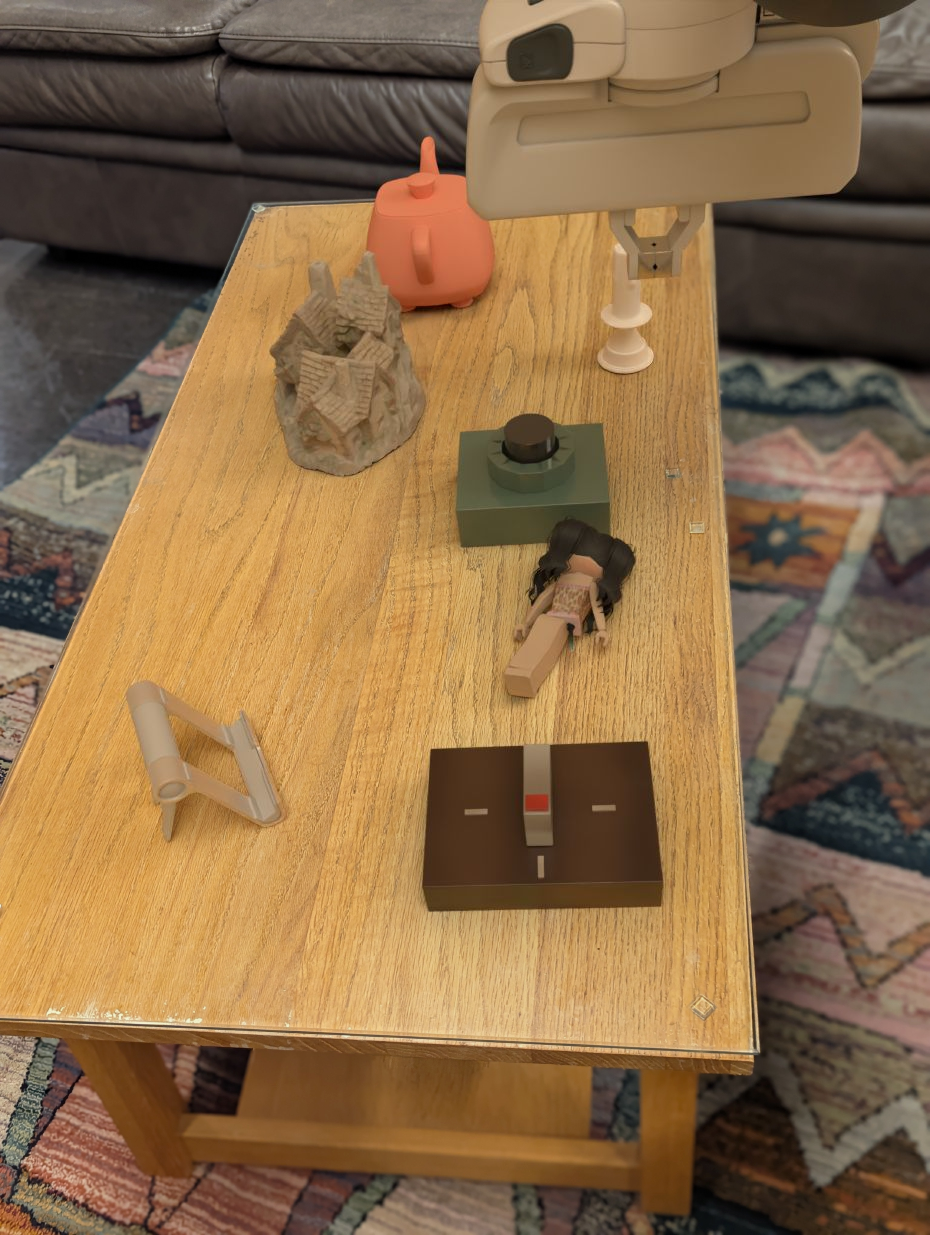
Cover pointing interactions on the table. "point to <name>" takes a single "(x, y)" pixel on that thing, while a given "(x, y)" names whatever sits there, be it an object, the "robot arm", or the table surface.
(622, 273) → the candle
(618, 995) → the table surface
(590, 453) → the green push button box
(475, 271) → the teapot
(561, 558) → the toy figure
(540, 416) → the knob
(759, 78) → the robot arm
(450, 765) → the dial panel
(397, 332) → the ceramic cottage
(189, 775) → the tablet stand
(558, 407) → the table surface
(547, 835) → the dial
